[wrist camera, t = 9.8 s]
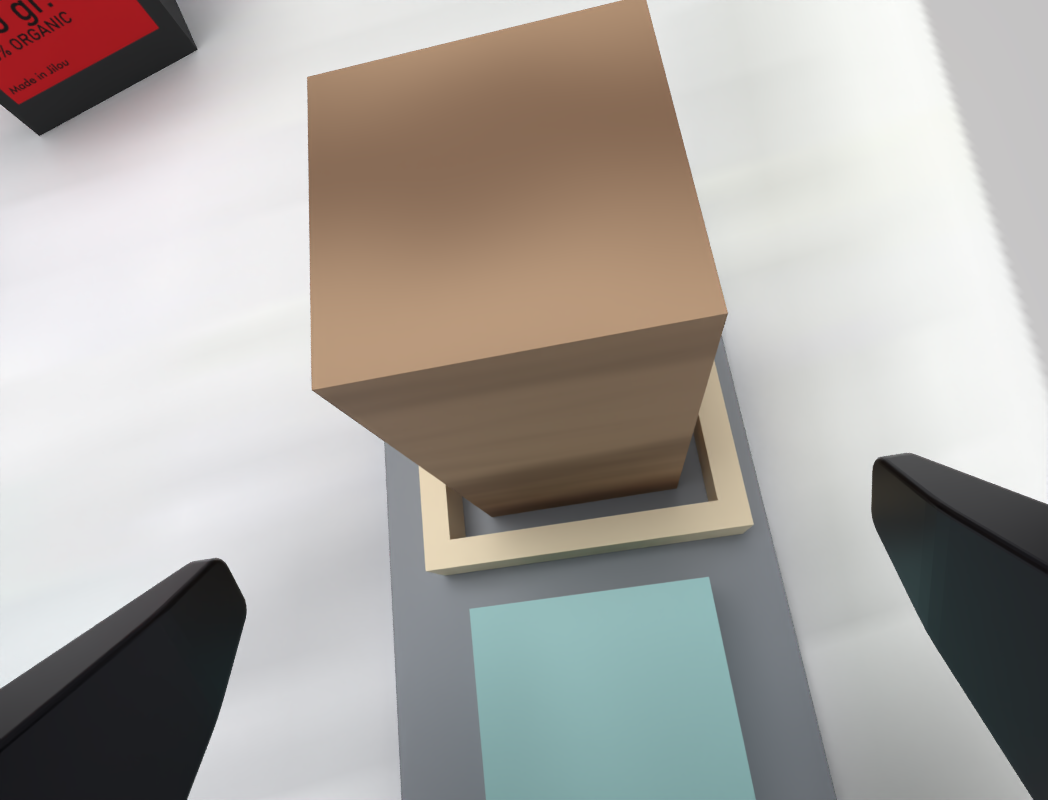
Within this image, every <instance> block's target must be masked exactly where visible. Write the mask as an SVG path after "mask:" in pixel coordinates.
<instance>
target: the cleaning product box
mask: <svg viewBox="0 0 1048 800" xmlns="http://www.w3.org/2000/svg"><path fill="white" fill-rule="evenodd" d="M196 50H197V47H196V45H195V43H194V41H193V38H192V36H191V34H190V32H189V30H188V27H187V25H186V23H185V21H184V18H183V16H182V14H181V12H180V9H179V7H178V5H177V3H176V0H0V104H1V105H2V106H3V107H5V108H6V109H7V110H8V111H9V112H11V113H12V114H13V115H14V116H16V117H17V118H18V119H19V120H21V121H22V122H23V123H24V124H26V125H27V126H28V127H29V128H30V129H32V130H33V131H34V132H35V133H37V134H38V135H39V136H40V135H42V134H44V133H46V132H48V131H49V130H51V129H53V128H55V127H57V126H59V125H60V124H62V123H64V122H66V121H68V120H70V119H71V118H73V117H75V116H77V115H79V114H81V113H82V112H84V111H86V110H88V109H90V108H92V107H93V106H95V105H97V104H99V103H101V102H103V101H104V100H106V99H108V98H110V97H112V96H114V95H115V94H117V93H119V92H121V91H123V90H125V89H126V88H128V87H130V86H132V85H134V84H136V83H137V82H139V81H141V80H143V79H145V78H147V77H148V76H150V75H152V74H154V73H156V72H158V71H159V70H161V69H163V68H165V67H167V66H169V65H170V64H172V63H174V62H176V61H178V60H180V59H181V58H183V57H185V56H187V55H189V54H191V53H192V52H194V51H196Z"/></svg>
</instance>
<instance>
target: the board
mask: <svg viewBox="0 0 1048 800" xmlns="http://www.w3.org/2000/svg"><path fill="white" fill-rule="evenodd" d="M384 445H385V466H386V486H387V507H388V528H389V549H390V569H391V590H392V611H393V631H394V652H395V673H396V694H397V714H398V735H399V756H400V776H401V797H402V800H836V796H835V791H834V787H833V783H832V779H831V775H830V771H829V767H828V763H827V759H826V755H825V751H824V747H823V743H822V739H821V735H820V731H819V727H818V723H817V719H816V715H815V711H814V707H813V703H812V699H811V695H810V690H809V686H808V682H807V678H806V674H805V670H804V666H803V662H802V658H801V654H800V650H799V646H798V642H797V638H796V634H795V630H794V626H793V622H792V618H791V614H790V610H789V606H788V602H787V598H786V594H785V589H784V585H783V581H782V577H781V573H780V569H779V565H778V561H777V557H776V553H775V549H774V545H773V541H772V537H771V533H770V529H769V525H768V521H767V517H766V513H765V509H764V505H763V501H762V497H761V493H760V488H759V484H758V480H757V476H756V472H755V468H754V464H753V460H752V456H751V452H750V448H749V444H748V440H747V436H746V432H745V428H744V424H743V420H742V416H741V412H740V408H739V404H738V400H737V396H736V392H735V388H734V383H733V379H732V375H731V371H730V367H729V363H728V359H727V355H726V351H725V347H724V343H723V339H722V335H721V338H720V342H719V345H718V349H717V352H716V355H715V359H714V362H713V366H712V369H711V373H710V376H709V379H708V383H707V386H706V390H705V393H704V397H703V400H702V403H701V407H700V410H699V414H698V417H697V421H696V424H695V428H694V431H693V434H692V438H691V441H690V445H689V448H688V452H687V455H686V458H685V462H684V465H683V469H682V472H681V476H680V479H679V482H678V486H677V489H671V490H664V491H658V492H651V493H645V494H638V495H632V496H626V497H619V498H613V499H606V500H600V501H593V502H587V503H581V504H574V505H568V506H561V507H555V508H549V509H542V510H536V511H529V512H523V513H516V514H510V515H504V516H497V517H491V516H489V515H488V514H487V513H485V512H484V511H482V510H481V509H479V508H478V507H477V506H475V505H474V504H472V503H471V502H470V501H468V500H467V499H465V498H464V497H462V496H461V495H460V494H458V493H457V492H455V491H454V490H453V489H451V488H450V487H448V486H447V485H445V484H444V483H443V482H441V481H440V480H438V479H437V478H436V477H434V476H433V475H431V474H430V473H428V472H427V471H426V470H424V469H423V468H421V467H420V466H419V465H417V464H416V463H414V462H413V461H411V460H410V459H409V458H407V457H406V456H404V455H403V454H402V453H400V452H399V451H397V450H396V449H395V448H393V447H392V446H390V445H389V444H387V443H386V442H385V441H384Z"/></svg>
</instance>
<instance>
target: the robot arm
mask: <svg viewBox="0 0 1048 800" xmlns="http://www.w3.org/2000/svg"><path fill="white" fill-rule="evenodd" d="M871 512H872V518H873V522H874V525H875V528H876V530H877V532H878V535H879V537H880V539H881V541H882V543H883V545H884V547H885V549H886V551H887V553H888V555H889V557H890V559H891V561H892V563H893V565H894V567H895V569H896V571H897V573H898V575H899V577H900V579H901V582H902V584H903V586H904V588H905V590H906V592H907V594H908V596H909V598H910V600H911V602H912V604H913V606H914V608H915V610H916V612H917V614H918V616H919V618H920V620H921V622H922V624H923V626H924V628H925V630H926V631H927V633H928V635H929V636H930V638H931V640H932V641H933V643H934V645H935V646H936V648H937V650H938V651H939V653H940V654H941V656H942V658H943V659H944V661H945V662H946V664H947V665H948V667H949V669H950V670H951V672H952V673H953V675H954V676H955V678H956V679H957V681H958V683H959V684H960V686H961V687H962V689H963V690H964V692H965V694H966V695H967V697H968V698H969V700H970V701H971V703H972V704H973V706H974V708H975V709H976V711H977V712H978V714H979V715H980V717H981V719H982V720H983V722H984V723H985V725H986V726H987V728H988V729H989V731H990V733H991V734H992V736H993V737H994V739H995V740H996V742H997V744H998V745H999V747H1000V748H1001V750H1002V751H1003V753H1004V755H1005V756H1006V758H1007V759H1008V761H1009V762H1010V764H1011V765H1012V767H1013V769H1014V770H1015V772H1016V773H1017V775H1018V776H1019V778H1020V780H1021V781H1022V783H1023V784H1024V786H1025V787H1026V789H1027V790H1028V792H1029V794H1030V795H1031V797H1032V798H1033V800H1048V504H1045V503H1043V502H1040V501H1037V500H1035V499H1032V498H1029V497H1027V496H1024V495H1021V494H1019V493H1016V492H1013V491H1011V490H1008V489H1005V488H1003V487H1000V486H998V485H995V484H992V483H990V482H987V481H984V480H982V479H979V478H976V477H974V476H971V475H968V474H966V473H963V472H960V471H958V470H955V469H952V468H950V467H947V466H944V465H942V464H939V463H936V462H934V461H931V460H929V459H926V458H923V457H921V456H918V455H915V454H912V453H903V454H896V455H890V456H883V457H879V458H878V459H877V460H876V461H875V462H874V465H873V471H872V505H871ZM246 612H247V609H246V602H245V599H244V597H243V595H242V593H241V591H240V589H239V587H238V585H237V583H236V581H235V579H234V577H233V575H232V573H231V572H230V570H229V568H228V566H227V564H226V563H225V562H224V561H223V560H221V559H219V558H212V559H205V560H198V561H193V562H190V563H189V564H187V565H185V566H184V567H182V568H181V569H179V570H178V571H176V572H175V573H173V574H172V575H170V576H169V577H167V578H166V579H164V580H163V581H161V582H160V583H158V584H157V585H155V586H154V587H152V588H151V589H149V590H148V591H146V592H145V593H143V594H142V595H140V596H139V597H137V598H136V599H134V600H133V601H131V602H130V603H128V604H127V605H125V606H124V607H122V608H121V609H119V610H118V611H116V612H115V613H113V614H112V615H110V616H109V617H107V618H106V619H104V620H103V621H101V622H100V623H98V624H97V625H95V626H94V627H92V628H91V629H89V630H88V631H86V632H85V633H83V634H82V635H80V636H79V637H77V638H76V639H74V640H73V641H71V642H70V643H68V644H67V645H65V646H64V647H62V648H61V649H59V650H58V651H56V652H55V653H53V654H52V655H50V656H49V657H47V658H46V659H44V660H43V661H41V662H40V663H38V664H37V665H35V666H34V667H32V668H31V669H29V670H28V671H26V672H25V673H23V674H22V675H20V676H19V677H17V678H16V679H14V680H13V681H11V682H10V683H8V684H7V685H5V686H4V687H2V688H1V689H0V800H187V798H188V796H189V793H190V791H191V788H192V785H193V783H194V780H195V777H196V775H197V772H198V770H199V767H200V764H201V762H202V759H203V757H204V754H205V751H206V749H207V746H208V743H209V741H210V738H211V736H212V733H213V730H214V727H215V724H216V722H217V719H218V716H219V712H220V709H221V706H222V702H223V699H224V696H225V692H226V688H227V685H228V681H229V677H230V674H231V670H232V666H233V663H234V659H235V656H236V652H237V648H238V645H239V641H240V637H241V634H242V630H243V626H244V623H245V619H246Z"/></svg>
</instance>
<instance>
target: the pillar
mask: <svg viewBox="0 0 1048 800" xmlns="http://www.w3.org/2000/svg"><path fill="white" fill-rule="evenodd" d="M307 92H308V163H309V233H310V304H311V374H312V391H314V392H315V393H317V394H318V395H319V396H321V397H322V398H324V399H325V400H327V401H328V402H329V403H331V404H332V405H334V406H335V407H336V408H338V409H339V410H341V411H342V412H344V413H345V414H346V415H348V416H349V417H351V418H352V419H353V420H355V421H356V422H358V423H359V424H361V425H362V426H363V427H365V428H366V429H368V430H369V431H370V432H372V433H373V434H375V435H376V436H378V437H379V438H380V439H382V440H383V441H385V442H386V443H387V444H389V445H390V446H392V447H393V448H395V449H396V450H397V451H399V452H400V453H402V454H403V455H404V456H406V457H407V458H409V459H410V460H411V461H413V462H414V463H416V464H417V465H419V466H420V467H421V468H423V469H424V470H426V471H427V472H428V473H430V474H431V475H433V476H434V477H436V478H437V479H438V480H440V481H441V482H443V483H444V484H445V485H447V486H448V487H450V488H451V489H453V490H454V491H455V492H457V493H458V494H460V495H461V496H462V497H464V498H465V499H467V500H468V501H470V502H471V503H472V504H474V505H475V506H477V507H478V508H479V509H481V510H482V511H484V512H485V513H487V514H488V515H489V516H491V517H497V516H504V515H510V514H516V513H523V512H529V511H536V510H542V509H549V508H555V507H561V506H568V505H574V504H581V503H587V502H593V501H600V500H606V499H613V498H619V497H626V496H632V495H638V494H645V493H651V492H658V491H664V490H671V489H677V486H678V482H679V479H680V476H681V472H682V469H683V465H684V462H685V458H686V455H687V452H688V448H689V445H690V441H691V438H692V434H693V431H694V428H695V424H696V421H697V417H698V414H699V410H700V407H701V403H702V400H703V397H704V393H705V390H706V386H707V383H708V379H709V376H710V373H711V369H712V366H713V362H714V359H715V355H716V352H717V349H718V345H719V342H720V338H721V335H722V331H723V328H724V325H725V321H726V318H727V314H728V312H727V308H726V304H725V300H724V297H723V293H722V289H721V285H720V281H719V277H718V274H717V270H716V266H715V262H714V258H713V254H712V251H711V247H710V243H709V239H708V235H707V231H706V228H705V224H704V220H703V216H702V212H701V208H700V205H699V201H698V197H697V193H696V189H695V185H694V182H693V178H692V174H691V170H690V166H689V162H688V159H687V155H686V151H685V147H684V143H683V139H682V136H681V132H680V128H679V124H678V120H677V116H676V113H675V109H674V105H673V101H672V97H671V93H670V90H669V86H668V82H667V78H666V74H665V70H664V67H663V63H662V59H661V55H660V51H659V47H658V44H657V40H656V36H655V32H654V28H653V24H652V21H651V17H650V13H649V9H648V5H647V1H646V0H622V1H618V2H614V3H609V4H605V5H601V6H597V7H593V8H589V9H585V10H581V11H577V12H572V13H568V14H564V15H560V16H556V17H552V18H548V19H544V20H540V21H535V22H531V23H527V24H523V25H519V26H515V27H511V28H507V29H503V30H499V31H494V32H490V33H486V34H482V35H478V36H474V37H470V38H466V39H462V40H457V41H453V42H449V43H445V44H441V45H437V46H433V47H429V48H425V49H421V50H416V51H412V52H408V53H404V54H400V55H396V56H392V57H388V58H384V59H379V60H375V61H371V62H367V63H363V64H359V65H355V66H351V67H347V68H342V69H338V70H334V71H330V72H326V73H322V74H318V75H314V76H310V77H307Z"/></svg>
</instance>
